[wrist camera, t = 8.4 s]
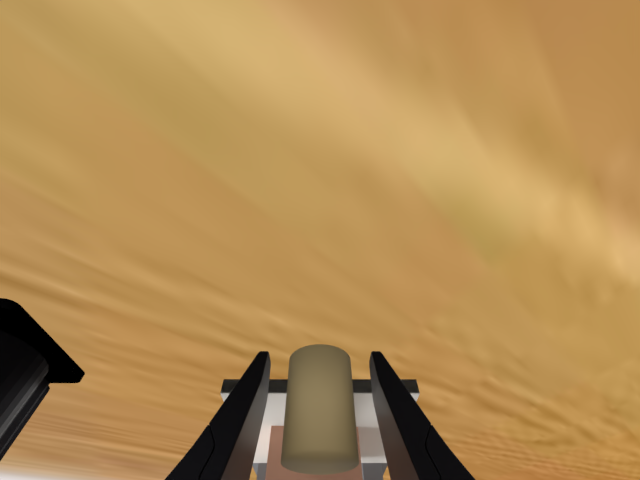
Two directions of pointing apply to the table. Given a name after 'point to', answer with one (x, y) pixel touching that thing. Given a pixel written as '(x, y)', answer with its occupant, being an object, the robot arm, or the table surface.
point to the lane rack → (364, 416)
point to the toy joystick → (317, 420)
